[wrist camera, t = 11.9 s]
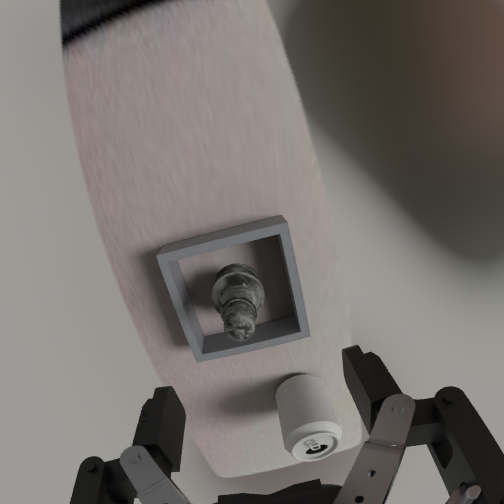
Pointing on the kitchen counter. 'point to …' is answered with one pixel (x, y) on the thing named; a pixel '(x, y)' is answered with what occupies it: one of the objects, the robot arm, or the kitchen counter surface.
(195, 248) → the bin
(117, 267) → the kitchen counter surface
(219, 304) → the chess piece
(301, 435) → the can
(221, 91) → the kitchen counter surface
